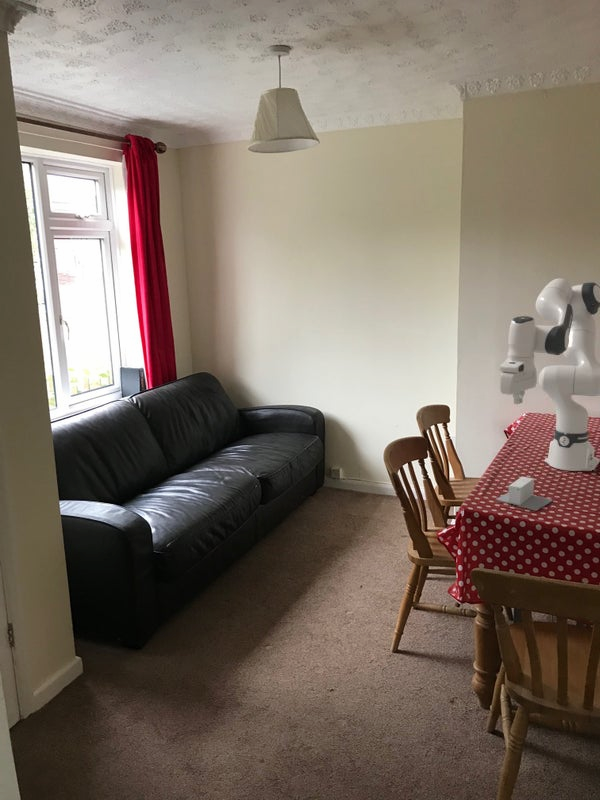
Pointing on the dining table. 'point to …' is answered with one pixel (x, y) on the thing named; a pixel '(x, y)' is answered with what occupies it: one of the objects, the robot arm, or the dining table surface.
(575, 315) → the robot arm
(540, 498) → the mat
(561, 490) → the dining table surface
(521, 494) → the skincare box
